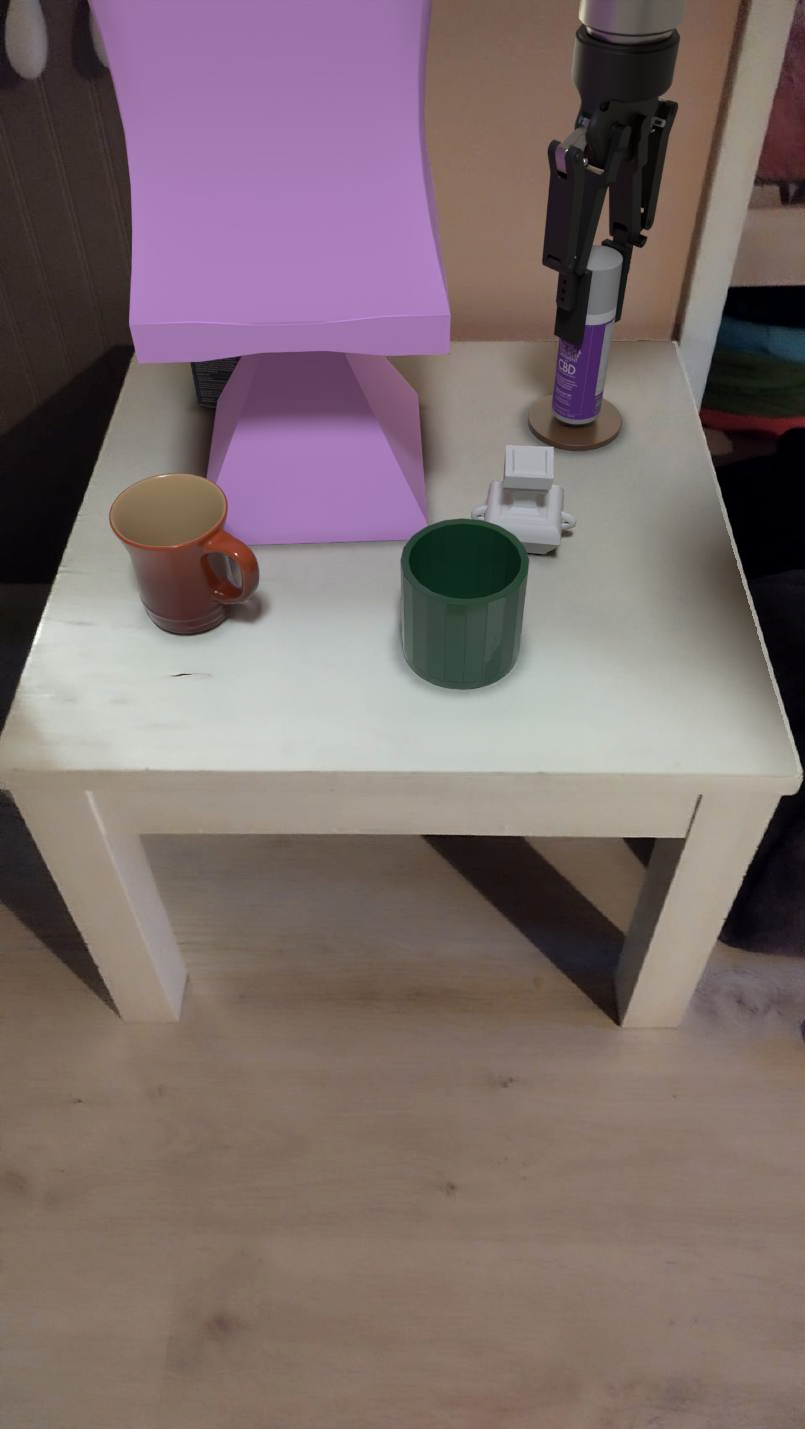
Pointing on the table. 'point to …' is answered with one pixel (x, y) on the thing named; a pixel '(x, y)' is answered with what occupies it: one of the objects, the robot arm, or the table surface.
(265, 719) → the table surface
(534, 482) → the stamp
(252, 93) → the chair
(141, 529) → the mug
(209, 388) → the box
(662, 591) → the table surface
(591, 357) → the container
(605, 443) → the coaster
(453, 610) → the cup
